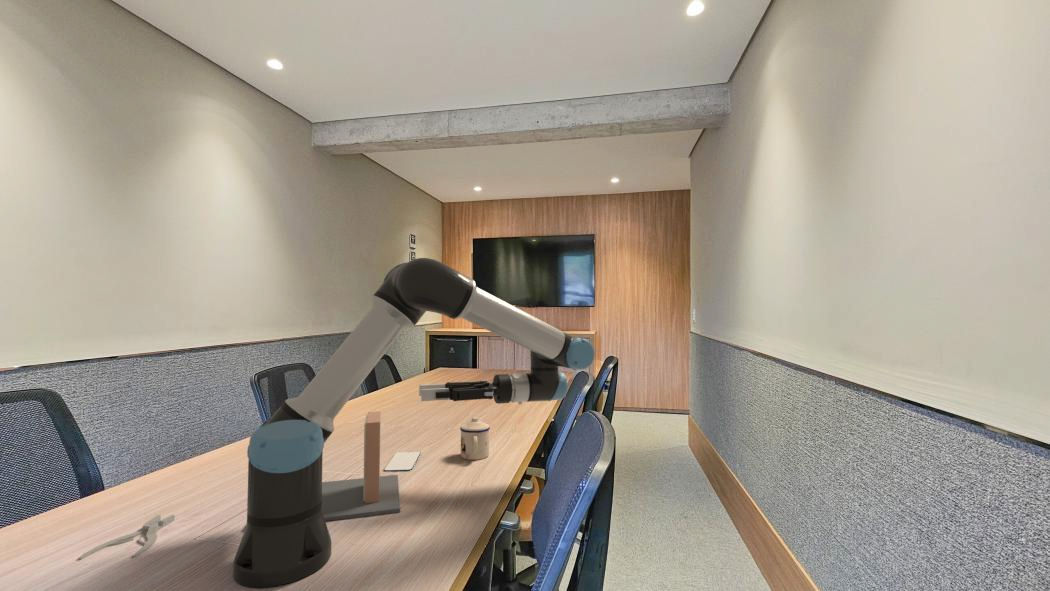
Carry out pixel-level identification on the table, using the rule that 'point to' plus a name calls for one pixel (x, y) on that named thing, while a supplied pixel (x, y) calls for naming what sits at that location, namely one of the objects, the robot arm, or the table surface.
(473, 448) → the teacup with lid
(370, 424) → the light wooden block
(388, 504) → the rubber mat
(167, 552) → the table surface
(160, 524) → the pliers
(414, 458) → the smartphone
